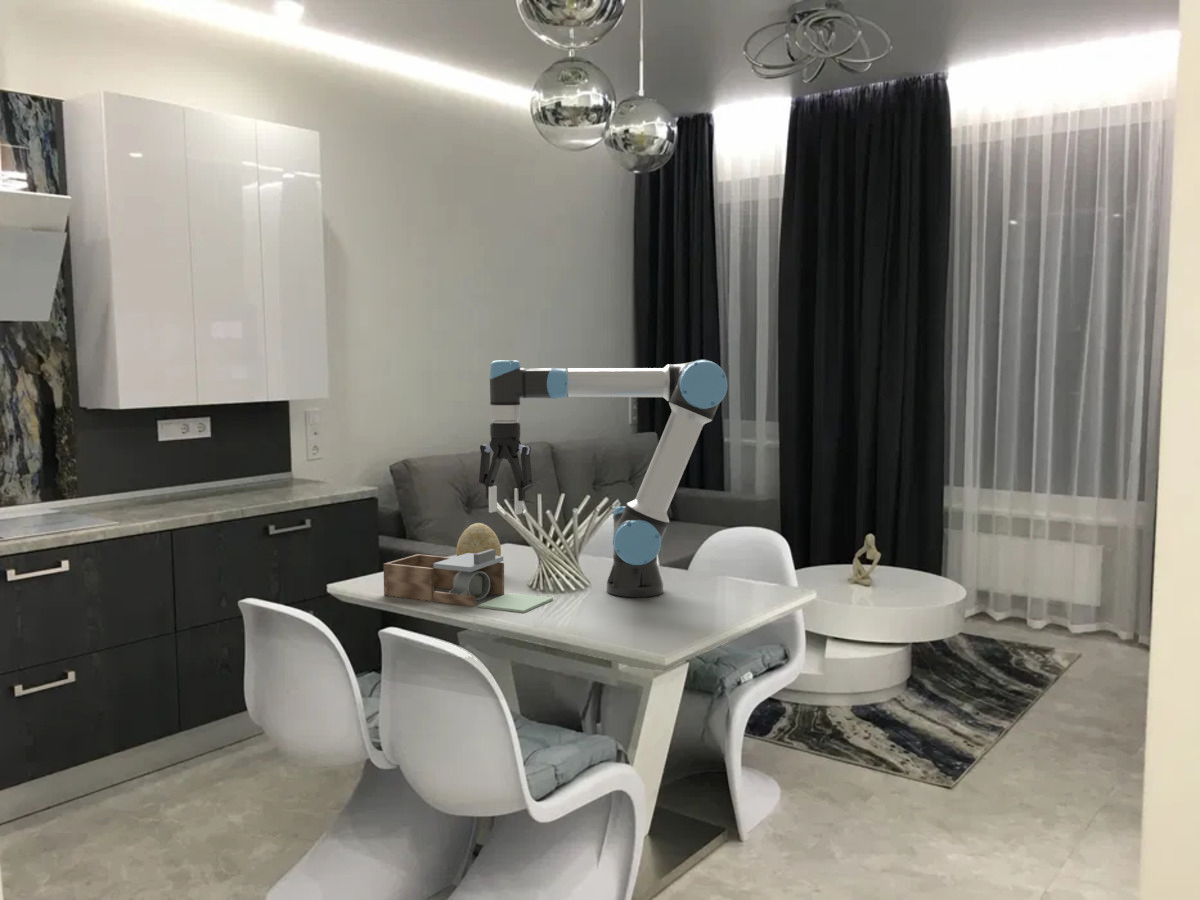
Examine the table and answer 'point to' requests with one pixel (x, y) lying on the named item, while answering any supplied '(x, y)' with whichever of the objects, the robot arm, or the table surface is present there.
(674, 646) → the table surface
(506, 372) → the robot arm
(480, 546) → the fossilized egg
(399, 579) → the walnut well board
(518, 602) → the sage mat
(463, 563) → the sliding cover
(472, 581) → the ceramic mug
